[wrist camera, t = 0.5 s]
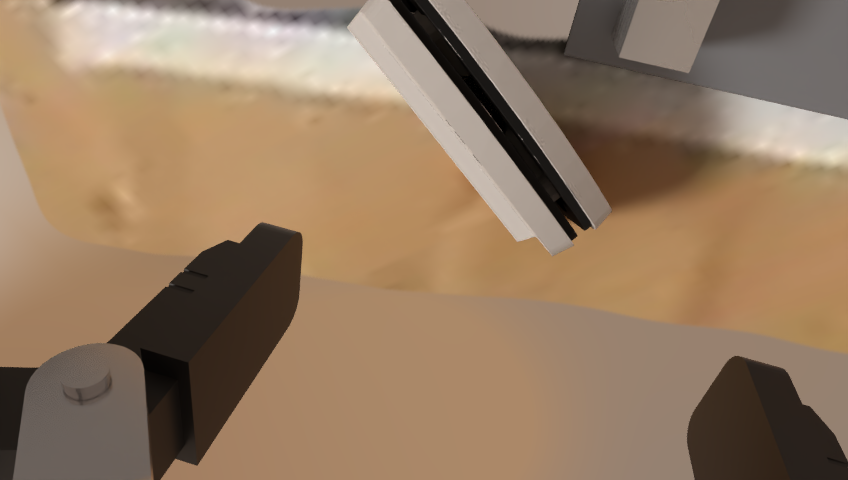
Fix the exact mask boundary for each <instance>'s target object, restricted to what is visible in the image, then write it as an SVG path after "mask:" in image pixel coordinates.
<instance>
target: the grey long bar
mask: <svg viewBox="0 0 848 480" xmlns="http://www.w3.org/2000/svg"><path fill="white" fill-rule="evenodd" d="M719 1H720V0H623V2H622V5H621V8H620V11H619V14H618V17H617V20H616V23H615V26H614V29H613V32H612V35H611V37H612V40H613V42H614V45H615V48H616V51H617V53H618V56H619V57H620V58H624V59H628V60H633V61H637V62H642V63H646V64H651V65H655V66H660V67H664V68H668V69H673V70H677V71H682V72H686V73H689V72H690V69H691V67H692V65H693V62H694V60H695V58H696V55H697V53H698V51H699V48H700V46H701V43H702V41H703V39H704V36H705V34H706V32H707V29H708V27H709V25H710V22H711V20H712V17H713V15H714V13H715V10H716V8H717V6H718V3H719Z"/></svg>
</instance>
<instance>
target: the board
mask: <svg viewBox="0 0 848 480" xmlns="http://www.w3.org/2000/svg"><path fill="white" fill-rule="evenodd" d="M622 2H623V0H579V3H578V7H577V10H576V13H575V17H574V20H573V23H572V27H571V30H570V34H569V37H568V40H567V44H566V47H565V50H564V55H566V56H570V57H575V58H579V59H584V60H588V61H593V62H597V63H601V64H606V65H610V66H615V67H619V68H623V69H628V70H632V71H637V72H641V73H646V74H650V75H654V76H659V77H663V78H668V79H672V80H676V81H681V82H685V83H690V84H694V85H698V86H703V87H707V88H712V89H716V90H721V91H725V92H729V93H734V94H738V95H743V96H747V97H751V98H756V99H760V100H765V101H769V102H773V103H778V104H782V105H787V106H791V107H796V108H800V109H804V110H809V111H813V112H818V113H822V114H826V115H831V116H835V117H840V118H844V119H848V0H720V1H719V3H718V6H717V8H716V10H715V13H714V15H713V17H712V20H711V22H710V25H709V27H708V29H707V32H706V34H705V36H704V39H703V41H702V43H701V46H700V48H699V51H698V53H697V55H696V58H695V60H694V62H693V65H692V67H691V69H690V72H689V73H686V72H682V71H677V70H673V69H668V68H664V67H660V66H655V65H651V64H646V63H642V62H637V61H633V60H628V59H624V58H620V57H619V56H618V53H617V51H616V48H615V45H614V42H613V40H612V37H611V35H612V32H613V29H614V26H615V23H616V20H617V17H618V14H619V11H620V8H621V5H622Z"/></svg>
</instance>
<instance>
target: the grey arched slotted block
mask: <svg viewBox="0 0 848 480" xmlns="http://www.w3.org/2000/svg"><path fill="white" fill-rule="evenodd" d="M411 12H413V13H414V12H415V15H414V16H413V15H412V13H411ZM347 28H348V29H349V30H350V32H351V33H352V34H353V35H354V37H355V38H356V39H357V41H358V42H359V43H360V44H361V46H362V47H363V48H364V49H365V51H366V52H367V53H368V54H369V56H370V57H371V58H372V59H373V61H374V62H375V63H376V64H377V66H378V67H379V68H380V69H381V71H382V72H383V73H384V75H385V76H386V77H387V78H388V80H389V81H390V82H391V83H392V85H393V86H394V87H395V88H396V90H397V91H398V92H399V93H400V95H401V96H402V97H403V98H404V100H405V101H406V102H407V103H408V105H409V106H410V107H411V109H412V110H413V111H414V112H415V114H416V115H417V116H418V117H419V119H420V120H421V121H422V122H423V124H424V125H425V126H426V127H427V129H428V130H429V131H430V132H431V134H432V135H433V136H434V137H435V139H436V140H437V141H438V142H439V144H440V145H441V146H442V148H443V149H444V150H445V151H446V153H447V154H448V155H449V156H450V158H451V159H452V160H453V161H454V163H455V164H456V165H457V166H458V168H459V169H460V170H461V171H462V173H463V174H464V175H465V176H466V178H467V179H468V180H469V182H470V183H471V184H472V185H473V187H474V188H475V189H476V190H477V192H478V193H479V194H480V195H481V197H482V198H483V199H484V200H485V202H486V203H487V204H488V205H489V207H490V208H491V209H492V210H493V212H494V213H495V214H496V216H497V217H498V218H499V219H500V221H501V222H502V223H503V224H504V226H505V227H506V228H507V229H508V231H509V232H510V233H511V234H512V236H513V237H514V238H515V239H516V241H522V240H525V239H529V238H532V237H537V238H538V240H539V241H540V242H541V243H542V244H543V246H544V247H545V248H546V249H547V250H548V252H549V253H550V254H551V255H552V256H554V255H556V254H558V253H560V252H562V251H564V250H566V249H568V248H570V247H572V246H574V244H573V243H572V240H573V239H574V238H576V237H577V234H576V232H575V231H574V229H573V228H572V227H571V225H570V224H569V222H568V221H567V219H566V218H565V217H564V215H565V216H566V217H567V218H569V219H570V220H571V221H573V222H574V223H575V224H577V225H578V226H579V227H581V228H582V229H583V230H587V229H588V228H589V227H592V228H593V229H597V228H598V226H599V225H600V224H601V223H602V222H603V221H604V220H605V218H606V217H607V216H608V215H609V214H610V213H611V212H612V209H611V207H610V206H609V204H608V202H607V201H606V199H605V197H604V196H603V194H602V192H601V191H600V189H599V187H598V186H597V184H596V183H595V181H594V179H593V178H592V176H591V175H590V173H589V172H588V170H587V168H586V167H585V165H584V164H583V162H582V161H581V159H580V158H579V156H578V155H577V153H576V152H575V150H574V149H573V147H572V146H571V144H570V143H569V141H568V140H567V138H566V137H565V135H564V134H563V132H562V131H561V130H560V128H559V127H558V125H557V124H556V122H555V121H554V120H553V118H552V117H551V115H550V114H549V112H548V111H547V110H546V108H545V107H544V105H543V104H542V102H541V101H540V100H539V98H538V97H537V95H536V94H535V93H534V91H533V90H532V88H531V87H530V86H529V84H528V83H527V81H526V80H525V79H524V77H523V76H522V74H521V73H520V72H519V70H518V69H517V68H516V66H515V65H514V64H513V62H512V61H511V60H510V58H509V57H508V56H507V54H506V53H505V52H504V50H503V49H502V48H501V46H500V45H499V44H498V42H497V41H496V40H495V38H494V37H493V36H492V34H491V33H490V32H489V30H488V29H487V28H486V26H485V25H484V24H483V23H482V21H481V20H480V19H479V18H478V16H477V15H476V13H475V12H474V11H473V10H472V8H471V7H470V6H469V5H468V3H467V2H466V1H465V0H368V1H367V2H366V4H365V5H364V6H363V7H362V9H361V10H360V11H359V12H358V14H357V15H356V16H355V18H354V19H353V20H352V21H351V23H350V24H349V25H348V27H347ZM461 76H471V77H472V78H473V80H474V81H475V82H476V84H477V85H478V86H479V88H480V89H481V90H482V92H483V93H484V94H485V96H486V97H487V98H488V100H489V101H490V102H491V104H492V105H493V106H494V108H495V109H496V110H497V112H498V113H499V115H500V116H501V117H502V119H503V120H504V121H505V128H504V132H502V130H501V129H500V127H499V126H498V125H497V123H496V122H495V121H494V119H493V118H492V117H491V115H490V114H489V113H488V111H487V110H486V109H485V107H484V106H483V105H482V104H481V102H480V101H479V100H478V98H477V97H476V96H475V94H474V93H473V92H472V90H471V89H470V88H469V87H468V85H467V84H466V83H465V81H464V80H463V79H462V77H461Z"/></svg>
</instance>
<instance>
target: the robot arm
mask: <svg viewBox="0 0 848 480" xmlns="http://www.w3.org/2000/svg"><path fill="white" fill-rule="evenodd" d="M302 244H303V240H302V235H301V233H299V232H296V231H292V230H289V229H285V228H282V227H278V226H274V225H271V224H267V223H263V222H262V223H260V224H258V225H257V226H256V227H255V228H254V229H253V230H252V231H251V232H250V233H249V234H248V235H247V236H246V237H245V238H244V240H243V241H242V242H241V243H236V242H233V241H229V240H227V241H225V242H222V243H220V244H218V245H216V246H214V247H211V248H209V249H207V250H205V251H203V252H201V253H200V254H199V255H198V256H197V257H196V258H195V259H194V260H193V261H192V262H191V263H190V264H189V265H188V266H187V267H186V268H185V269H184V272H183V273H182V272H181V273H179V274H178V275H177V276H176V277H175V278H174V279H173V280H172V281H171V282H170V284H169V287H165V288H164V289H163V290H162V291H161V292H160V293H159V294H158V295H157V296H156V297H154V299H152V300H151V301H150V302H149V303H148V304H147V305H146V306H145V307H144V308H143V309H142V310H141V311H140V312H139V313H138V314H137V315H136V316H135V317H134V318H133V319H132V320H130V322H128V323H127V324H126V325H125V326H124V327H123V328H122V329H121V330H120V331H119V332H118V333H117V334H116V335H115V336H114V337H113V338H112V339H111V340H110V341H108V342H107V343H96V344H87V345H82V346H78V347H75V348H72V349H69V350H66V351H64V352H62V353H59V354H58V355H56V356H54V357H52V358H51V359H49V360H48V361H46V362H45V363H44V364H42V365H41V366H40V367H39V368H19V367H0V480H160V479H161V478H162V477H163V475H164V473H165V472H166V471H167V469H168V468H169V467H170V465H171V464H172V462H173V461H174V460H175V459H178V460H182V461H185V462H187V463H191V464H194V465H198V464H199V462H200V460H201V459H202V458H203V456H204V455H205V453H206V452H207V450H208V449H209V447H210V445H211V444H212V442H213V441H214V439H215V438H216V436H217V435H218V433H219V432H220V430H221V429H222V427H223V426H224V424H225V423H226V421H227V420H228V418H229V416H230V415H231V414H232V412H233V411H234V409H235V408H236V406H237V404H238V403H239V401H240V400H241V398H242V397H243V395H244V394H245V392H246V391H247V389H248V388H249V386H250V385H251V383H252V382H253V380H254V379H255V377H256V376H257V374H258V373H259V371H260V369H261V368H262V366H263V365H264V363H265V362H266V360H267V359H268V357H269V356H270V354H271V353H272V351H273V350H274V348H275V347H276V345H277V344H278V342H279V341H280V339H281V338H282V336H283V335H284V333H285V331H286V330H287V328H288V327H289V325H290V323H291V321H292V319H293V317H294V314H295V311H296V308H297V304H298V300H299V290H300V275H301V260H302ZM687 444H688V450H689V455H690V459H691V464H692V469H693V473H694V478H695V480H848V461H847V459H846V457H845V455H844V453H843V451H842V449H841V447H840V445H839V443H838V441H837V439H836V436H835V435H834V433H833V432H832V431H831V430H830V429H829V428H828V427H827V425H826V424H825V423H824V422H823V421H822V420H821V419H820V417H819V416H818V415H817V414H816V413H815V412H814V411H813V409H812V408H811V407H810V406H806V405H803V404H802V403H801V400H800V398H799V396H798V394H797V392H796V389H795V387H794V385H793V383H792V381H791V379H790V376H789V375H788V373H787V372H786V371H785V370H784V369H782V368H779V367H776V366H772V365H769V364H765V363H762V362H758V361H754V360H751V359H747V358H744V357H740V356H734V357H732V358H731V359H729V361H728V362H727V363H726V364H725V366H724V367H723V368H722V370H721V372H720V373H719V375H718V376H717V377H716V379H715V380H714V382H713V383H712V385H711V386H710V388H709V390H708V391H707V392H706V394H705V395H704V397H703V398H702V400H701V402H700V403H699V404H698V406H697V407H696V409H695V410H694V412H693V414H692V416H691V419H690V422H689V426H688V433H687Z"/></svg>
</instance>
